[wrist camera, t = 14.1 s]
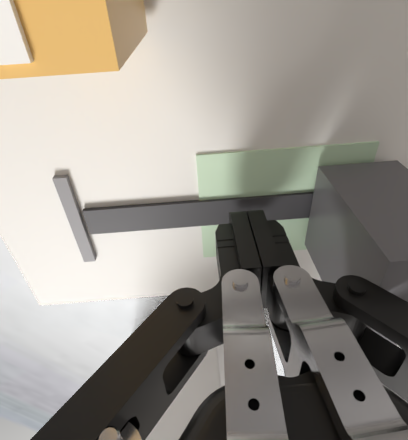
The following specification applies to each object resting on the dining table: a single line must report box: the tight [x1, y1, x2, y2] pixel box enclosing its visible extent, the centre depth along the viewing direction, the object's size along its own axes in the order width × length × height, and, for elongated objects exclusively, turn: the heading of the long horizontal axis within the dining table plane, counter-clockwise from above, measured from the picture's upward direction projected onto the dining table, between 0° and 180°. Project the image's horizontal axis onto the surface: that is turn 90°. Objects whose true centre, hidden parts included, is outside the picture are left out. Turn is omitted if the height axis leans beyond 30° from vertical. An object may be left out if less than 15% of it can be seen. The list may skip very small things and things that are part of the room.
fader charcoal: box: [305, 160, 408, 346], centre depth 13 cm, size 4×4×6 cm
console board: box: [0, 0, 408, 306], centre depth 13 cm, size 28×22×2 cm
